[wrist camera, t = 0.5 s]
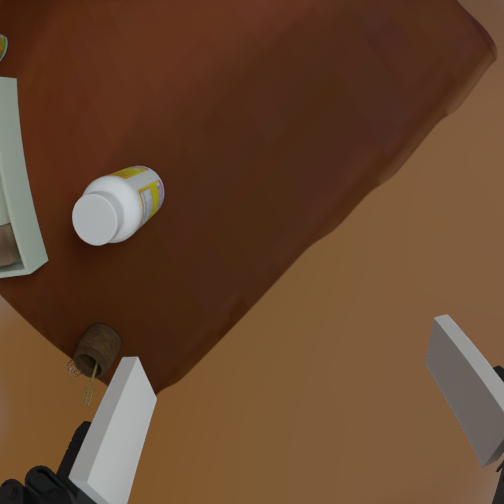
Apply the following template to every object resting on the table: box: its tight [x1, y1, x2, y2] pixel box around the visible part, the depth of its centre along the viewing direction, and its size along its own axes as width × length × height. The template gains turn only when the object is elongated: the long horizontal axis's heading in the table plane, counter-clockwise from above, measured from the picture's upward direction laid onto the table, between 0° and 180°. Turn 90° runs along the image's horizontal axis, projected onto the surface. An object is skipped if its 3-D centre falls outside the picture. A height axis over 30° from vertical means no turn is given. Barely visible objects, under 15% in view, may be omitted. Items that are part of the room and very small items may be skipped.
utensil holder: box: [71, 324, 121, 406], centre depth 39 cm, size 6×6×12 cm
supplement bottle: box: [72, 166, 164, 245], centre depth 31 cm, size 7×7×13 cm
